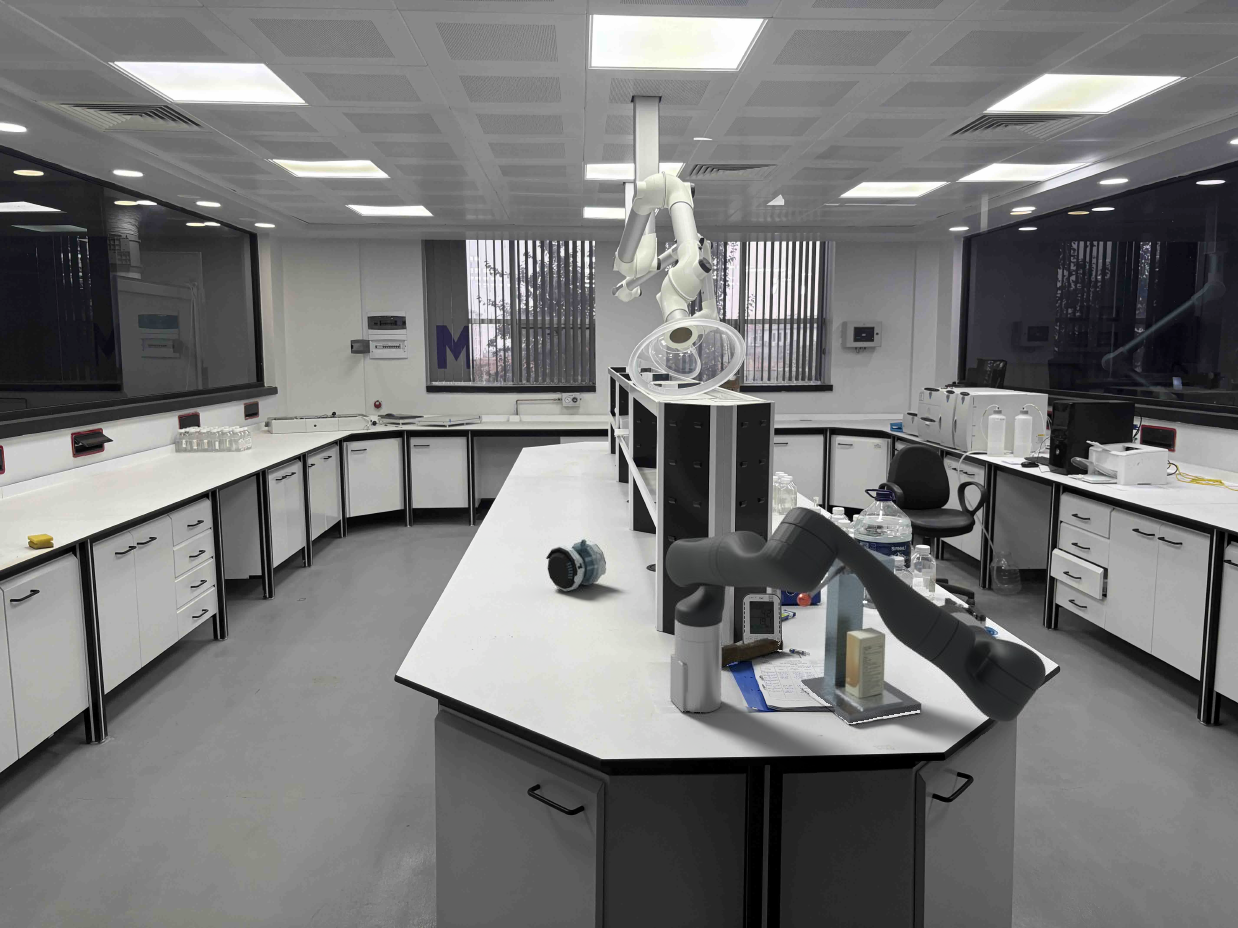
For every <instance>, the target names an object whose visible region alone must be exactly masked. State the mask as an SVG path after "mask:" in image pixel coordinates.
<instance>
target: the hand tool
mask: <svg viewBox="0 0 1238 928" xmlns="http://www.w3.org/2000/svg"><path fill="white" fill-rule="evenodd" d="M779 642H780V641H779ZM779 642H778V641H776V640H773V639H768V637H766V638H764V637H763V638H760V639H755V640H753V641H751V642H748V643H743V644H736V643H730V644H726V645H722V666H721V668H724V667H723V666H727V665H729V664H731V663H734V662H739V661H741V662H742V660H743V661H746V660H750V659H753V658H755V657H761V656H764V655H767V653H769V654H771V653H770V652H772V653H774V652H773V651H775V650H778V649H779V650H782V652H783V651H784V640H783V639H782V641H781V644H780V646H778V645H779V644H778V643H779ZM775 652H776V651H775ZM760 655H761V656H760ZM739 663H740V662H739Z"/></svg>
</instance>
